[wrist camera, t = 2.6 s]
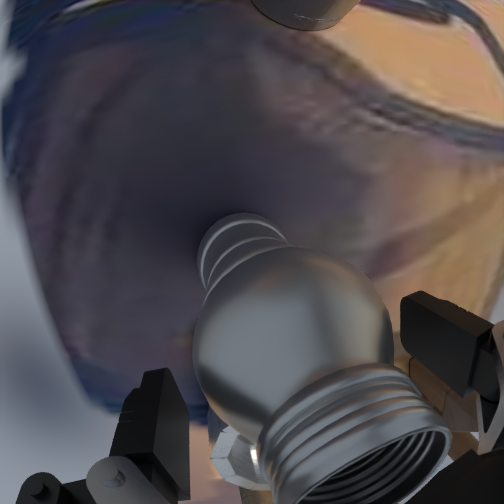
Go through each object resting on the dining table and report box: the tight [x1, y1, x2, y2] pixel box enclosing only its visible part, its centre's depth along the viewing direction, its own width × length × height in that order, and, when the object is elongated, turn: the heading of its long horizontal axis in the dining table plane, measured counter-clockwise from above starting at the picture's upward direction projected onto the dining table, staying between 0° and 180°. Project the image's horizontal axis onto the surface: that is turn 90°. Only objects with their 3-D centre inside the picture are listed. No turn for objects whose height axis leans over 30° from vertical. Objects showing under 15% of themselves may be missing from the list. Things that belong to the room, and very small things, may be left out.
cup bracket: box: [207, 404, 274, 504], centre depth 21 cm, size 16×12×12 cm
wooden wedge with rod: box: [410, 358, 479, 461], centre depth 22 cm, size 4×11×18 cm, turn 17°
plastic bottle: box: [192, 213, 452, 504], centre depth 13 cm, size 6×7×20 cm
